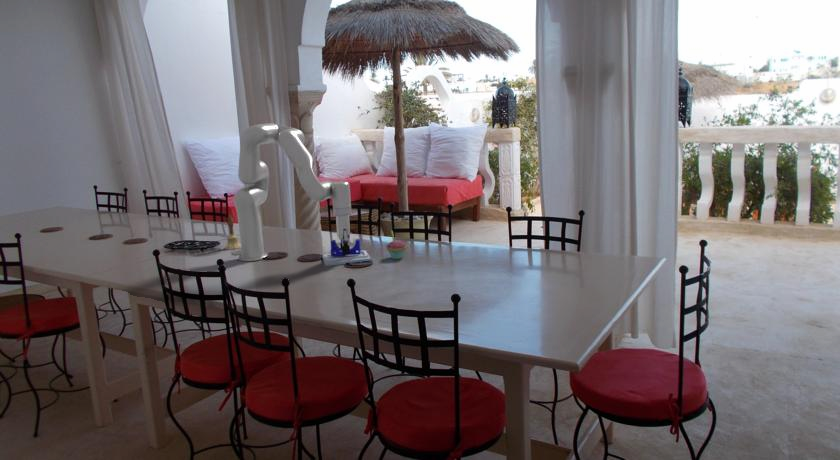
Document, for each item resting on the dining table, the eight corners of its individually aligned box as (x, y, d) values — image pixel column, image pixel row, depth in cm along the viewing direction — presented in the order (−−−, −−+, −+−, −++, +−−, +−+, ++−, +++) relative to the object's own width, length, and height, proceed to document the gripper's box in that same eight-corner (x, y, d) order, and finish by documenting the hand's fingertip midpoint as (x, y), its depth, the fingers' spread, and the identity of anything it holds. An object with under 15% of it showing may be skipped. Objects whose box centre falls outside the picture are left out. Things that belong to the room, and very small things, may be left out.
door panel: (325, 266, 264) (324, 260, 263) (322, 257, 279) (322, 252, 279) (371, 261, 268) (370, 256, 267) (365, 252, 283) (365, 247, 283)
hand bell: (239, 249, 302) (236, 216, 299) (222, 250, 303) (218, 216, 299) (244, 245, 310) (241, 212, 307) (227, 246, 311) (224, 213, 307)
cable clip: (331, 256, 271) (330, 242, 270) (332, 253, 275) (331, 240, 274) (359, 255, 270) (358, 241, 269) (360, 252, 275) (359, 239, 274)
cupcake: (383, 259, 270) (381, 231, 268) (393, 254, 278) (391, 227, 275) (401, 260, 266) (399, 232, 264) (411, 255, 274) (409, 228, 271)
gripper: (331, 208, 277) (334, 249, 280) (335, 215, 260) (338, 259, 264) (349, 207, 278) (351, 248, 282) (353, 214, 262) (356, 257, 266)
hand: (345, 252), depth 273 cm, fingers closed on cable clip, 4 cm apart
